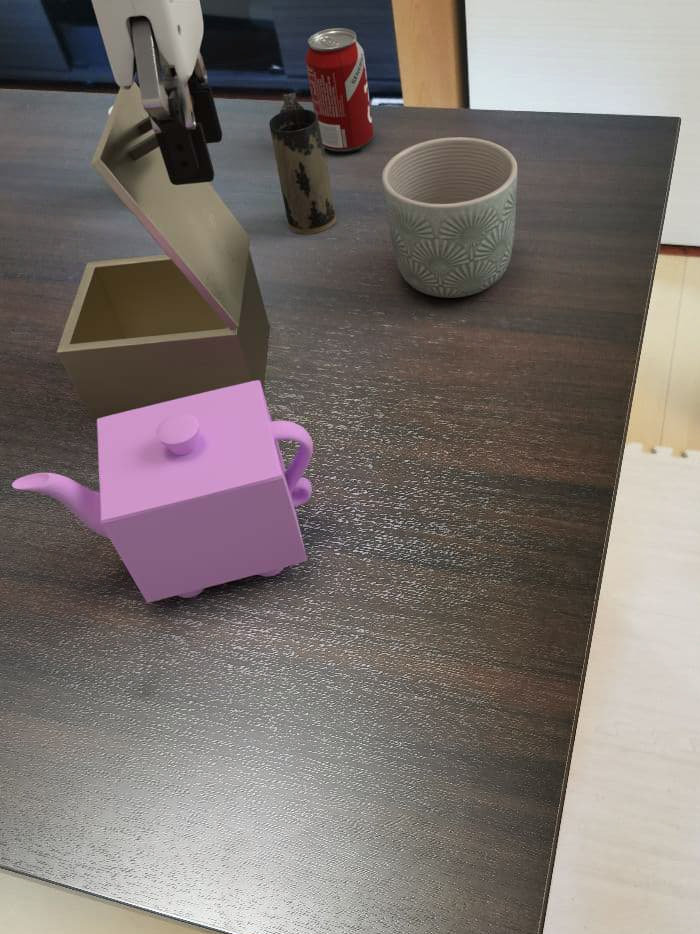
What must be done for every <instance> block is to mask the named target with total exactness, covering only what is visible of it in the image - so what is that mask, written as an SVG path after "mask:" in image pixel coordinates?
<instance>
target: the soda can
mask: <svg viewBox="0 0 700 934" xmlns="http://www.w3.org/2000/svg"><path fill="white" fill-rule="evenodd" d="M307 44H308V49H307V52H306V55H305V66H306V72H307V78H308V82H309V83H308V84H309V89H310V94H311V101H312V106H313V112H315V113H316V114H317V116H318V121H319V127H320V132H321V137H322V142H323V148H324V149H326V150H328V151H332V152H334V153H339V154H347V153H352V152H356V151H359V150H360V149H362V148H364V147H365V146H366V145H368V144H369V143H370V142H371V141H372V140H373V139H374V127H373V126H374V125H373V119H372V111H371V103H370V92H369V86H368V84H369V83H368V77H367V68H366V60H365V52H364V48H363V47H362V46H361V45H360V43H359V42H358V40H357V34H356V32H355V31H353V30H352V29H349V28H345V27H344V28H342V27H336V28H328V29H323V30H320V31H317V32H315V33H313V34H312V35H311V36H309V38H308V40H307Z"/></svg>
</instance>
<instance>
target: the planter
mask: <svg viewBox="0 0 700 934" xmlns="http://www.w3.org/2000/svg"><path fill="white" fill-rule="evenodd" d="M518 168H519V167H518V163H517V160H516V157H514V155H513V154H512V153H511V152H510V151H509V150H507V148H505V147H503V146H502V145H499V144H497V143H495V142H492V141H490V140H485V139H481V138H475V137H468V136H467V137H466V136H464V137H463V136H458V137H457V136H454V137H442V138H441V137H440V138H435V139H429V140H426V141H422V142H419V143H416V144H414V145H412V146H409V147H407V148H405V149H403V150H401V151H399V152H398V153H397V154H395V155H394V156H393V157H392V158H391V159H390V160H389V161H388V162H387V163H386V165H385V166H384V168H383V170H382V174H381V184H382V190H383V197H384V204H385V209H386V217H387V222H388V230H389V234H390V240H391V241H390V242H391V246H392V250H393V254H394V257H395V263H396V265H397V268H398V270H399V272H400V275H401V276H402V277H403V279H404V280H405V281H406V283H407V284H408V285H409V286H411V287H412V288H414V289H415V290H416V291H418V292H421V293H423V294H425V295H428V296H431V297H435V298H443V299H457V298H465V297H469V296H474V295H476V294H479V293H481V292H483V291H485V290H487V289H489V288H490V287H492V286H493V285H495V284H496V283H497V282H498V281H500V279H501V278H502V277H503V275H504V274H505V273H506V270H507V269H508V266H509V264H510V261H511V258H512V252H513V245H514V238H515V229H516V209H517V192H518V191H517V190H518V171H519V170H518Z"/></svg>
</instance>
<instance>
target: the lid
mask: <svg viewBox="0 0 700 934" xmlns="http://www.w3.org/2000/svg"><path fill="white" fill-rule="evenodd" d="M190 97H191V102H192V107H193V108H194V100H193V97H192V96H191V94H190ZM170 98H174V99H175V100H176V101H177V102H178V103H179V105H180V100H179V96H178V91H177V89H175V90H173V91H172V92H171V93H170V96H169V99H170ZM112 106H113V108H112V111H111V113H110V116H109V115H108V119H107V121H106V124H105V126H104V129H103V131H102V134H101V137H100V139H99V141H98V144H97V147H96V149H95V151H94V153H93V158H92V159H91V161H90V165H91V166H92V168H93V169H94V170H95V171H96V172H97V174H98V175H99V176H100V177H101V178H102V179H103V181H105V183H106V185H108V186H109V188H110V189H111V190H112V191H113V193H114V194H115V195H116V196H117V197H118V199H120V200H121V202H122V203H123V204H124V206H126V208H127V209H128V210H129V211H130V213H131V214H132V215H133V216H134V218H136V220H137V221H138V222H139V223H140V225H141V226H142V227H143V228H144V230H145V231H146V232H147V233H148V234H149V235H150V236H151V237H152V239H153V240H154V241H155V242H156V244H157V245H158V246H159V247H160V248H161V249H162V251H163V252H164V254H167V255H168V256H169V258H170V259H171V260H172V261H173V262H174V264H175V265H176V266H177V267H178V268H179V269H180V271H181V272H182V273H183V274H184V275H185V277H186V278H187V279H188V280H189V281H190V283H191V284H192V285H193V286H194V287H195V289H196V290H197V291H198V292H199V293H200V294H201V296H202V297H203V298H204V299H205V300H206V302H207V303H208V304H209V305H210V306H211V308H212V309H213V310H214V311H215V312H216V313H217V315H218V316H219V317H220V318H221V319H222V321H223V322H224V323H225V324H226V325H227V327H228V328H229V329H230V330H231V331H232V330H234V329H236V328H238V327H239V322H240V314H241V307H242V299H243V291H244V284H245V276H246V269H247V261H248V254H249V250H250V246H251V237H250V236H249V235H248V233H247V231H246V230H245V229H244V227H243V226H242V225H241V223H240V222H239V221H238V219H237V218H236V216H234V215H233V213H232V212H231V210H230V208H228V206H227V204H225V202H224V201H223V199H222V198H221V196H220V195H219V194H218V192H217V191H216V190H215V189H214V187H213V186H212V184H211V182H204V183H193V184H183V185H174V184H172V183H171V182H170V179H169V176H168V173H167V170H166V167H165V163H164V160H163V157H162V154H161V151H160V148H159V144H158V141H157V138H156V135H155V132H154V130H153V127H152V123H151V119H150V116H149V115H148V113H147V112H146V111H145V109H144V107H143V104H142V100H141V92H140V86H138V84H137V83H136V82H135V81H134V83H133V85H132V86H131V88H130V89H128V90H124V89H122V88H121V87H120V86H119V89H118V92H117V95H116V98H115V101H114V102H113V105H112ZM180 106H181V105H180Z"/></svg>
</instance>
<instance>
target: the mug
mask: <svg viewBox="0 0 700 934" xmlns="http://www.w3.org/2000/svg"><path fill="white" fill-rule="evenodd" d="M282 97H283V105H282V107H281V109H280V111H279V113H278V114H275V115H274V116H273V117H271V118H270V120H269V123H268V126H269V130H270V136H271V137H270V138H271V141H272V147H273V152H274V159H275V162H276V163H275V164H276V168H277V174H278V179H279V183H280V188H281V189H280V190H281V195H282V200H283V205H284V210H285V215H286V221H287V226H288V228H289V229H290V230H291V231H292V232H295V233H298V234H303V235H310V234H317V233H322V232H324V231H326V230H329V228H331V227H333V225H335V224H336V222H337V220H338V219H337V217H338V215H337V211H336V205H335V201H334V200H335V199H334V196H333V190H332V186H331V180H330V175H329V169H328V163H327V159H326V158H327V157H326V153H325V148H324V147H323V142H322V137H321V132H320V127H319V121H318V116H317V114H316V113H315V112H314V110H310V109H307V108H304V107H303V106H302V105H301V103H299V102H298V99H297V94H296V92H295V91H294V92H291V93H283V94H282Z"/></svg>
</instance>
